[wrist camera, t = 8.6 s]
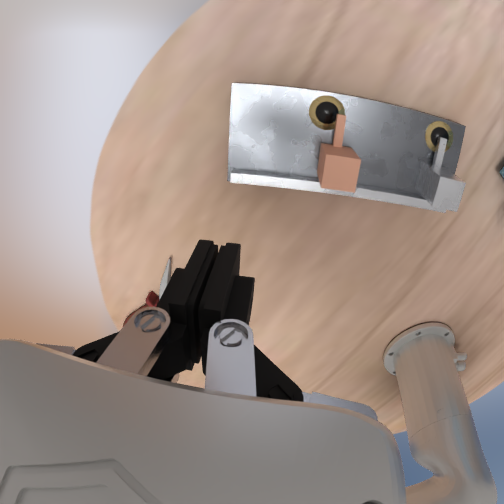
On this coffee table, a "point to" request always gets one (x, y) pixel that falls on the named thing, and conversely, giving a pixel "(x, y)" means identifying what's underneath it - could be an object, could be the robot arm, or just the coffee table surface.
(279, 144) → the plate
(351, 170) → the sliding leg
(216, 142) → the coffee table surface
